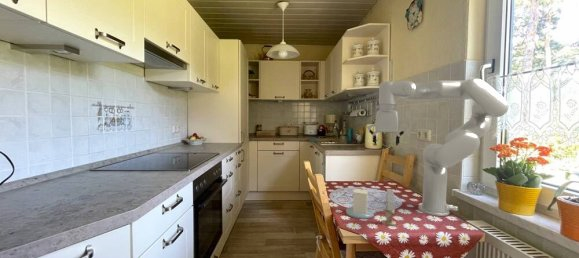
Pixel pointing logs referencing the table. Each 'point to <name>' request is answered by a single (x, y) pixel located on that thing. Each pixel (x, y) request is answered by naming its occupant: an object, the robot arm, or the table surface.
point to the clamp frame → (388, 215)
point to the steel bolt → (390, 200)
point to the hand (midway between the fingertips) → (385, 144)
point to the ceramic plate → (360, 216)
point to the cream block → (360, 201)
